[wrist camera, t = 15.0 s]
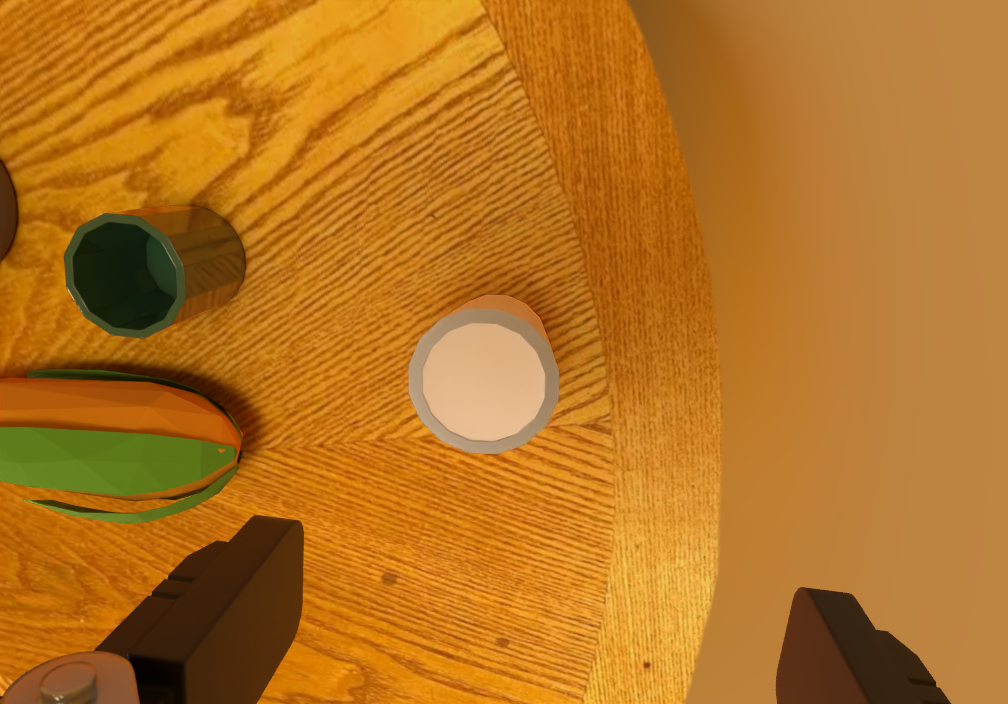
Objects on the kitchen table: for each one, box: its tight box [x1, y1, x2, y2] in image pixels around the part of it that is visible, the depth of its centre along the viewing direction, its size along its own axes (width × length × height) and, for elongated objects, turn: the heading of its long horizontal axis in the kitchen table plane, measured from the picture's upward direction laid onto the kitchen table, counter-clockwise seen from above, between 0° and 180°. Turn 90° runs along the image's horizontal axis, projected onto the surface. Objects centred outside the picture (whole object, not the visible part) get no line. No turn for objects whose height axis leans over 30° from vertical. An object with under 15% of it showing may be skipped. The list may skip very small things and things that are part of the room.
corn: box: [0, 369, 244, 524], centre depth 38 cm, size 7×8×20 cm
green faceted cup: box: [64, 205, 245, 339], centre depth 35 cm, size 6×6×6 cm
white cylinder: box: [408, 294, 560, 454], centre depth 35 cm, size 7×7×7 cm
